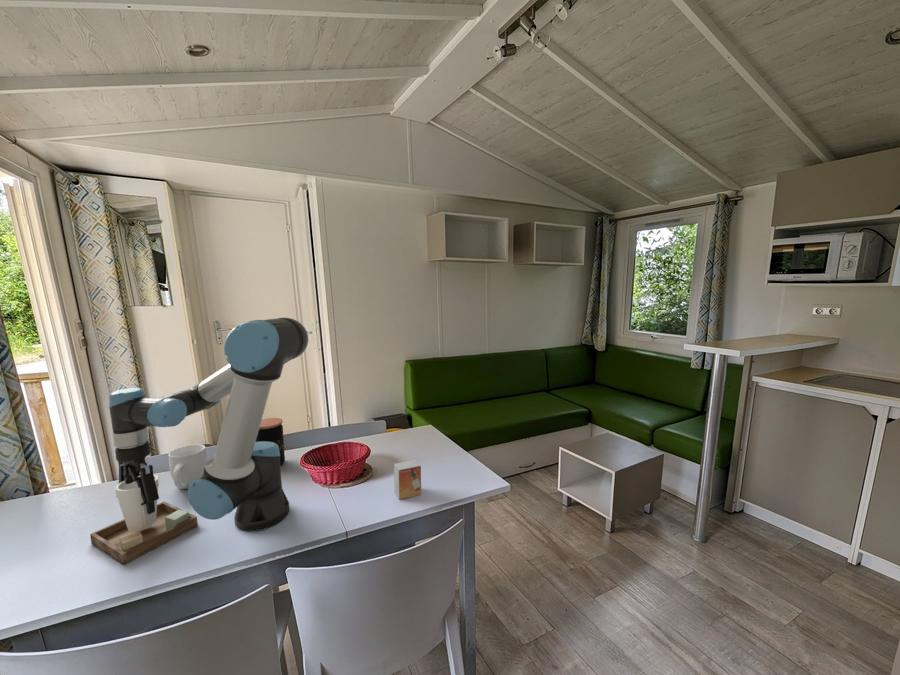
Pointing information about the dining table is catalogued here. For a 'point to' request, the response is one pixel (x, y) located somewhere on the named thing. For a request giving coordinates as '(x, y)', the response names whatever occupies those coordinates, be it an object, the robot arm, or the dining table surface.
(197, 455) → the mug
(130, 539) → the block
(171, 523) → the block
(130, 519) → the foam cup
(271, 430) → the coffee jar
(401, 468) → the small box
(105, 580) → the dining table surface
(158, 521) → the tray
